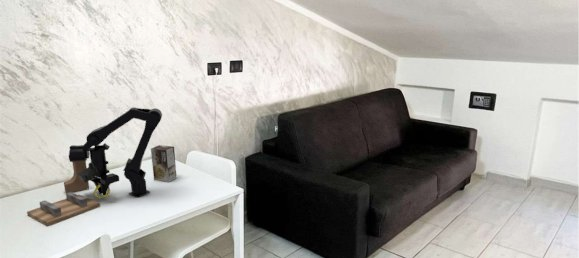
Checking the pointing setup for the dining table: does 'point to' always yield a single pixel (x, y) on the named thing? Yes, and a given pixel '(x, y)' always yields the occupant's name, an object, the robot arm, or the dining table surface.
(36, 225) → the dining table surface
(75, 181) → the wooden block
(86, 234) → the dining table surface
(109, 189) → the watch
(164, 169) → the coffee box
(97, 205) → the cradle
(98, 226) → the dining table surface
